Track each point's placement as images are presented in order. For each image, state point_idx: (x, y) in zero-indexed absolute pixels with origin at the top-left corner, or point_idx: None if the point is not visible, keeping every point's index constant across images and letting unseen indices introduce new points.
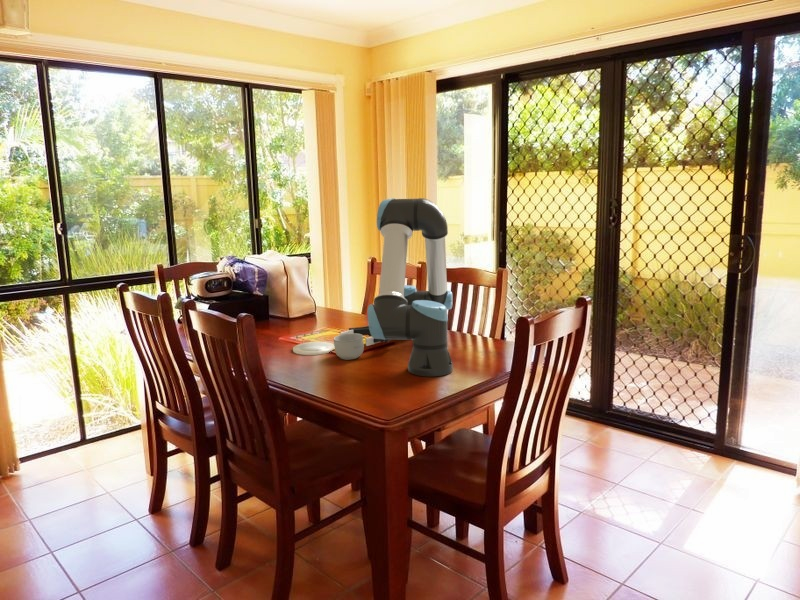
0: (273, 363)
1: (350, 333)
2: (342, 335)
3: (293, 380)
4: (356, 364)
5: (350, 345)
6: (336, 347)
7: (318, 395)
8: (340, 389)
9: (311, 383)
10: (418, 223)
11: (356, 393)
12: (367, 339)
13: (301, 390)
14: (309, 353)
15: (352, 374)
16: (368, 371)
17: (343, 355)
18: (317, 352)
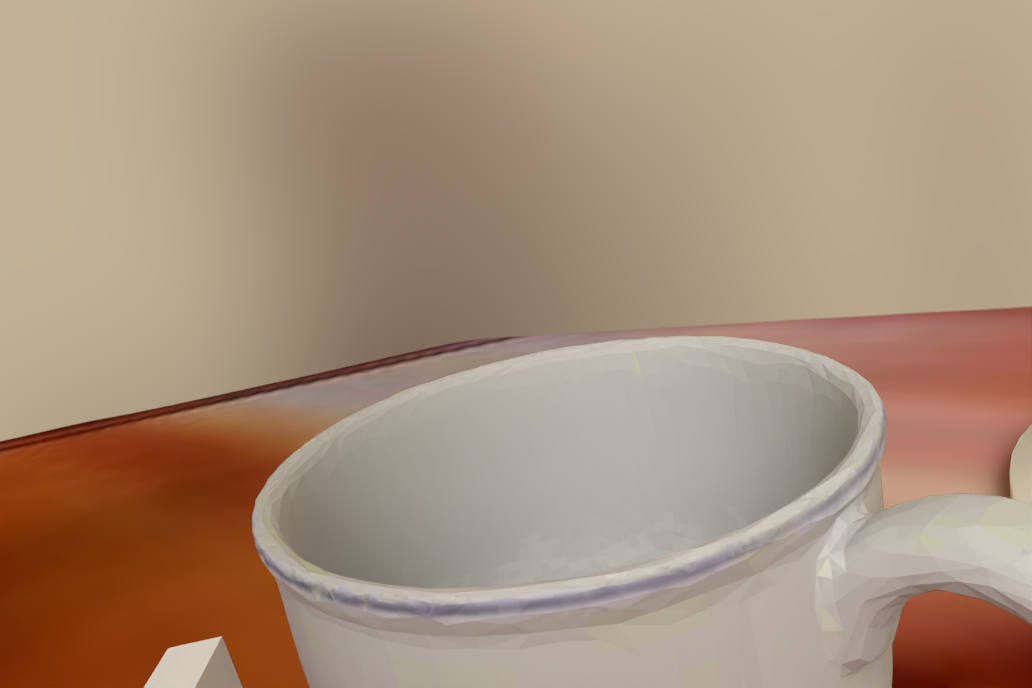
0: (857, 326)
1: (827, 481)
2: (852, 413)
3: (457, 371)
4: (297, 684)
5: (379, 480)
6: (598, 442)
7: (208, 408)
8: (136, 462)
9: (340, 406)
10: None
11: (19, 492)
12: (170, 683)
13: (319, 381)
14: (1023, 440)
15: (178, 559)
16: (47, 672)
17: (511, 564)
18: (1010, 481)
